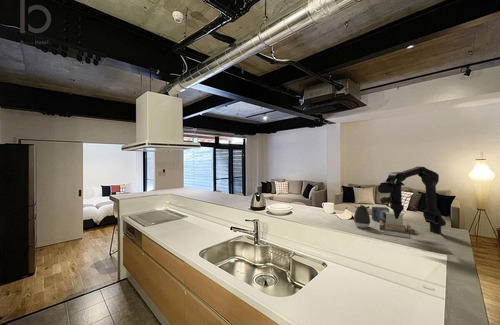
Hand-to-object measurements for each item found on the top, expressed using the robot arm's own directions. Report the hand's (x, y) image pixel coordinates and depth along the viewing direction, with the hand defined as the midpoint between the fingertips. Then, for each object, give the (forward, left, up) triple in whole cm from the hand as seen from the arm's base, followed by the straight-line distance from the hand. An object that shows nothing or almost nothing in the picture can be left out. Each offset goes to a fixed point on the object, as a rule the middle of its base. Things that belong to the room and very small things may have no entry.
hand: (396, 218), depth 129 cm
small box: (-30, -8, -11) cm, 33 cm away
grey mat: (0, 0, -10) cm, 10 cm away
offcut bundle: (-8, 0, -11) cm, 13 cm away
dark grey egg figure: (-7, -19, -11) cm, 23 cm away
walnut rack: (-13, 0, -10) cm, 17 cm away
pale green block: (-15, 0, -10) cm, 19 cm away
